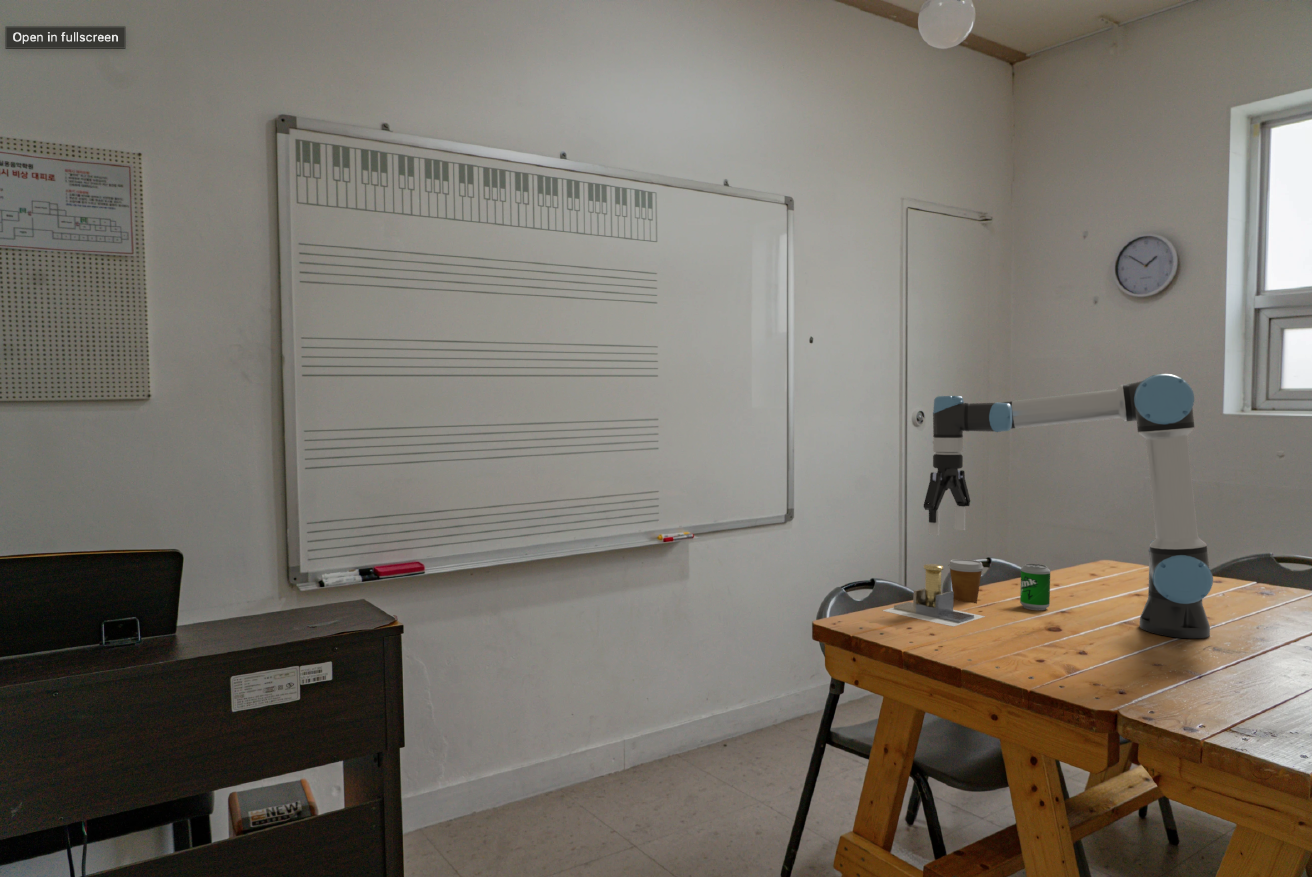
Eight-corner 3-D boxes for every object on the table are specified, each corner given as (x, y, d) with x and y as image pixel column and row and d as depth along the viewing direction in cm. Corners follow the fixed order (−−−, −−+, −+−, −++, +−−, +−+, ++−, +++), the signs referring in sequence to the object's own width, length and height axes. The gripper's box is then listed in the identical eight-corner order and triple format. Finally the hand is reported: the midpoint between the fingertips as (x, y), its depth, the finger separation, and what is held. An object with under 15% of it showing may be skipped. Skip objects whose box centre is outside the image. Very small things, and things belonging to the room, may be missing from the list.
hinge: (974, 618, 216) (974, 595, 216) (959, 623, 211) (960, 599, 211) (908, 604, 231) (909, 583, 230) (893, 608, 226) (894, 586, 226)
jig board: (985, 620, 218) (985, 616, 218) (953, 631, 208) (953, 626, 208) (914, 606, 234) (914, 601, 234) (881, 615, 224) (882, 610, 224)
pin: (946, 613, 221) (947, 566, 220) (936, 616, 217) (936, 568, 217) (929, 610, 224) (930, 563, 224) (919, 613, 221) (919, 565, 221)
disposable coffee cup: (987, 607, 234) (988, 565, 233) (954, 606, 234) (954, 564, 233) (975, 599, 243) (976, 558, 243) (943, 599, 243) (943, 558, 243)
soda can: (1043, 605, 236) (1044, 563, 236) (1053, 611, 229) (1054, 568, 229) (1016, 604, 237) (1017, 562, 237) (1025, 610, 230) (1026, 567, 229)
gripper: (958, 451, 232) (957, 526, 233) (910, 454, 216) (909, 535, 216) (983, 452, 227) (983, 529, 227) (936, 455, 210) (936, 538, 211)
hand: (947, 532), depth 222 cm, fingers open, 13 cm apart
